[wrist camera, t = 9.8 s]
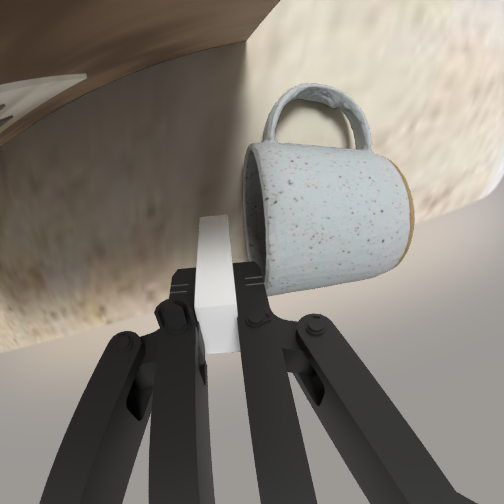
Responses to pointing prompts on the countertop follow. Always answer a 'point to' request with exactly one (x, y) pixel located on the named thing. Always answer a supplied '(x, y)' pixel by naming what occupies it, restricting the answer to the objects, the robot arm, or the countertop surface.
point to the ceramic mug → (323, 205)
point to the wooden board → (102, 45)
